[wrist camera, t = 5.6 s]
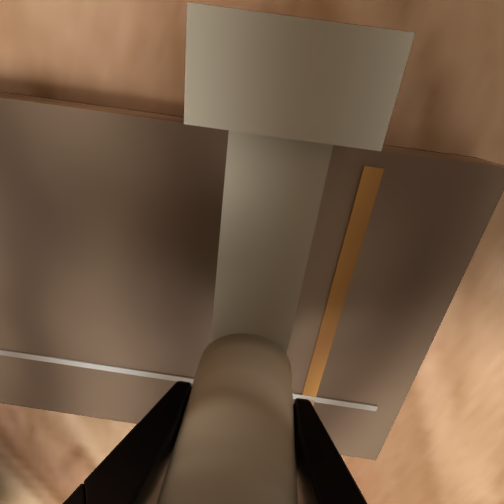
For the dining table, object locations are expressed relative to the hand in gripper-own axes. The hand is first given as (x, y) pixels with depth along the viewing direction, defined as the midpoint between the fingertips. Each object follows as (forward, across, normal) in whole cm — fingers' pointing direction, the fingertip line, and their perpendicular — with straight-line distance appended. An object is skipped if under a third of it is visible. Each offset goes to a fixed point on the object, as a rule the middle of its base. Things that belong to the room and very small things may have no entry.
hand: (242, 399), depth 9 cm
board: (+6, +3, 0) cm, 6 cm away
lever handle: (+5, 0, -3) cm, 6 cm away
